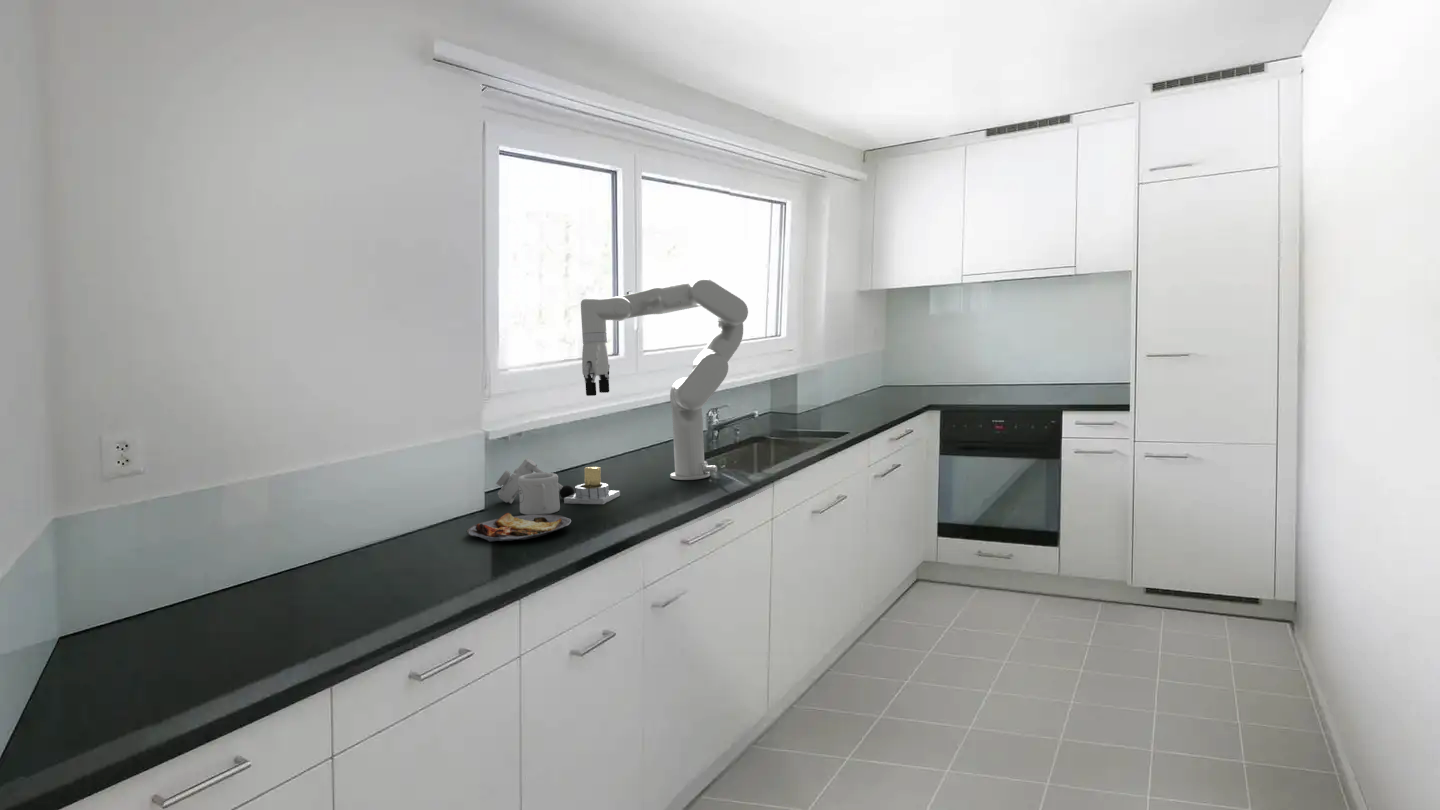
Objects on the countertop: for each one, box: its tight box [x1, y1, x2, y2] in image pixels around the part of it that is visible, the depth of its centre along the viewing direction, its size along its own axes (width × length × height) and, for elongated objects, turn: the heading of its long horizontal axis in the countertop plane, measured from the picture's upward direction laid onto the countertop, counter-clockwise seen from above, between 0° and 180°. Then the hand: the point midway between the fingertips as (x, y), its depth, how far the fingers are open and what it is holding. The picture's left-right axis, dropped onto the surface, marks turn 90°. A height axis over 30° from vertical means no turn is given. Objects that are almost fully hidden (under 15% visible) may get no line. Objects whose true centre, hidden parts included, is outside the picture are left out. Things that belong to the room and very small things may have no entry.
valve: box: [495, 457, 575, 504], centre depth 280 cm, size 10×20×15 cm
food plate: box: [465, 512, 572, 543], centre depth 240 cm, size 25×23×4 cm
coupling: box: [584, 466, 602, 488], centre depth 278 cm, size 5×5×8 cm
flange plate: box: [563, 482, 621, 505], centre depth 278 cm, size 12×12×4 cm
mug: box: [518, 472, 561, 516], centre depth 263 cm, size 14×11×10 cm
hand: (597, 393), depth 300 cm, fingers open, 9 cm apart
